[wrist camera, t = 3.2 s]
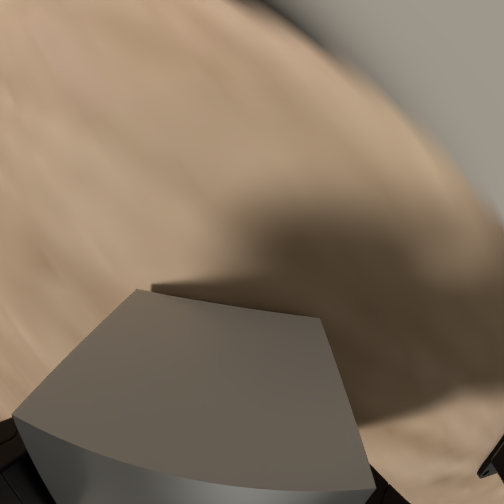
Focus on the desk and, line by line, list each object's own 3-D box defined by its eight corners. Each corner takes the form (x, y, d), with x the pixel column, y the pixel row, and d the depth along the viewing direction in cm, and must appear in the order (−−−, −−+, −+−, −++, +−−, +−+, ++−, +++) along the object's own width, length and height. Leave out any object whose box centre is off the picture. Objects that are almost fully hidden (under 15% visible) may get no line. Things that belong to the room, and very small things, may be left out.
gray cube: (320, 318, 9) (376, 488, 3) (283, 443, 10) (288, 582, 5) (136, 289, 9) (11, 414, 3) (141, 419, 10) (84, 543, 5)
